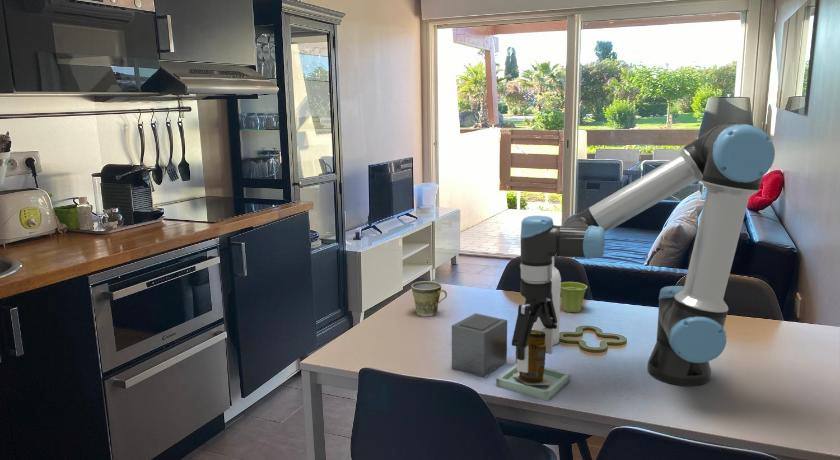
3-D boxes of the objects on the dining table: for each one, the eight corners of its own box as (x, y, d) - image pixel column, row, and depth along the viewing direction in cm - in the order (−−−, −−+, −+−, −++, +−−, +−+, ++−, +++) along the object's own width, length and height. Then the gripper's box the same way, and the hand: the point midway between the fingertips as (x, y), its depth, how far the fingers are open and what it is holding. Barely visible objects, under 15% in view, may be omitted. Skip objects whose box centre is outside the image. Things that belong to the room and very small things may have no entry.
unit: (506, 361, 171) (507, 319, 169) (484, 377, 162) (484, 332, 159) (474, 353, 177) (474, 312, 175) (450, 367, 168) (450, 324, 165)
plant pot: (568, 303, 219) (568, 280, 218) (591, 310, 213) (592, 285, 211) (552, 310, 213) (552, 285, 211) (575, 316, 206) (576, 291, 205)
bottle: (536, 334, 191) (538, 238, 185) (561, 338, 187) (565, 240, 181) (528, 343, 184) (530, 244, 178) (555, 347, 180) (558, 246, 174)
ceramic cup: (406, 315, 210) (405, 286, 208) (422, 307, 218) (422, 279, 216) (438, 322, 203) (438, 292, 201) (454, 313, 211) (454, 285, 209)
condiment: (538, 374, 162) (541, 328, 161) (552, 385, 154) (556, 337, 153) (511, 374, 160) (515, 328, 159) (525, 385, 152) (529, 337, 151)
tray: (569, 381, 159) (570, 374, 158) (547, 400, 149) (547, 393, 148) (520, 368, 167) (520, 361, 167) (496, 385, 157) (496, 378, 156)
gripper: (544, 266, 164) (543, 342, 169) (497, 290, 145) (497, 375, 149) (571, 270, 160) (569, 348, 164) (526, 295, 140) (525, 383, 145)
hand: (535, 361), depth 157 cm, fingers open, 13 cm apart
